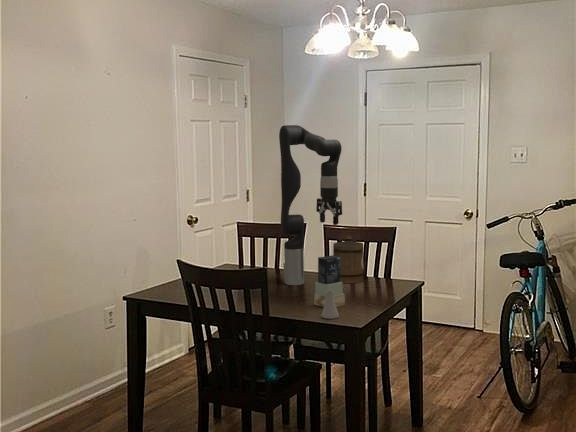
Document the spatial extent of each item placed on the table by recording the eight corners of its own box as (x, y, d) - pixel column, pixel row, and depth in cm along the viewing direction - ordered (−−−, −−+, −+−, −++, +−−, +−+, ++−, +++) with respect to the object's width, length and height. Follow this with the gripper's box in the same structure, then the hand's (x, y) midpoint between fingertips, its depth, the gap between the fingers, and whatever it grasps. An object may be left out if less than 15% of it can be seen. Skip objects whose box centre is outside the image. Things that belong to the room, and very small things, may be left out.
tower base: (314, 305, 273) (314, 293, 272) (330, 301, 278) (330, 290, 277) (328, 309, 266) (328, 297, 265) (344, 305, 271) (344, 293, 270)
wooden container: (369, 281, 315) (369, 236, 313) (345, 285, 308) (345, 239, 305) (350, 275, 328) (350, 232, 325) (326, 279, 320) (326, 235, 317)
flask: (319, 314, 257) (319, 290, 256) (337, 314, 257) (337, 289, 256) (322, 319, 250) (321, 294, 248) (340, 319, 250) (340, 293, 249)
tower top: (315, 293, 271) (315, 282, 271) (329, 290, 277) (329, 279, 276) (328, 297, 265) (328, 285, 265) (342, 293, 270) (342, 282, 270)
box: (326, 284, 266) (325, 259, 265) (317, 282, 271) (317, 257, 269) (341, 281, 270) (340, 256, 269) (332, 279, 275) (332, 255, 274)
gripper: (311, 185, 283) (311, 222, 285) (333, 188, 272) (333, 226, 274) (324, 184, 287) (324, 220, 290) (346, 187, 276) (346, 224, 279)
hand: (329, 223), depth 282 cm, fingers open, 8 cm apart
